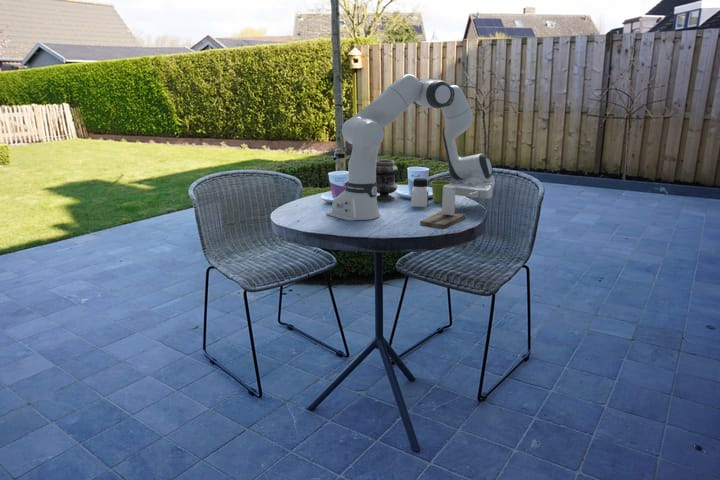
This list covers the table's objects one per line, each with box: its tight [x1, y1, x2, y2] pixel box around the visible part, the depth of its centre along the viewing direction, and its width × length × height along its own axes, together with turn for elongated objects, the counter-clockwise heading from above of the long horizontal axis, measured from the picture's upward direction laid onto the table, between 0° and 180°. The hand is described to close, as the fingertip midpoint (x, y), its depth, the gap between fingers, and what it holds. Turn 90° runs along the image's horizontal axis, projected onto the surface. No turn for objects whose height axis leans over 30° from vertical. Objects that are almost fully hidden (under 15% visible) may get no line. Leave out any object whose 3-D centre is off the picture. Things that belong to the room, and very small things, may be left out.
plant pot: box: [430, 180, 452, 204], centre depth 227 cm, size 9×9×9 cm
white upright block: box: [441, 185, 456, 215], centre depth 196 cm, size 4×3×11 cm
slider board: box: [419, 211, 466, 230], centre depth 195 cm, size 10×19×2 cm, turn 145°
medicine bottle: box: [410, 177, 429, 208], centre depth 220 cm, size 7×7×12 cm
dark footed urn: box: [376, 159, 398, 202], centre depth 231 cm, size 12×12×18 cm
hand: (459, 194), depth 202 cm, fingers open, 8 cm apart
